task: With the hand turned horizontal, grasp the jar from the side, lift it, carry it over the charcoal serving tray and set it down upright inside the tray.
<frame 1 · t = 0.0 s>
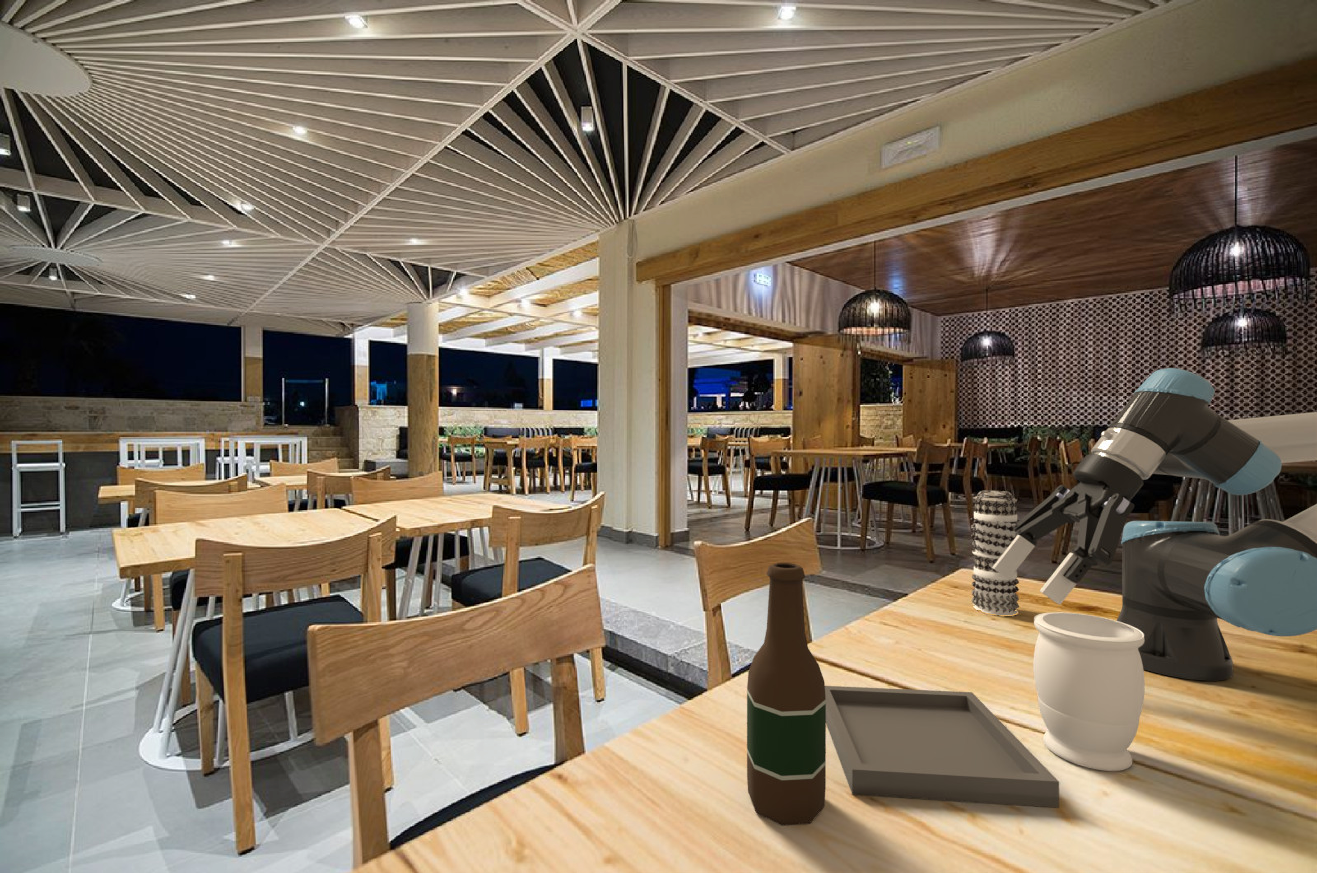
hand: (1022, 585, 84), 15 cm above the table, tool tilted 35°, fingers open, 13 cm apart
jar: (1086, 754, 68), on the table
decorative candle: (995, 611, 122), on the table
tray: (919, 747, 69), on the table
beer bottle: (785, 804, 59), on the table
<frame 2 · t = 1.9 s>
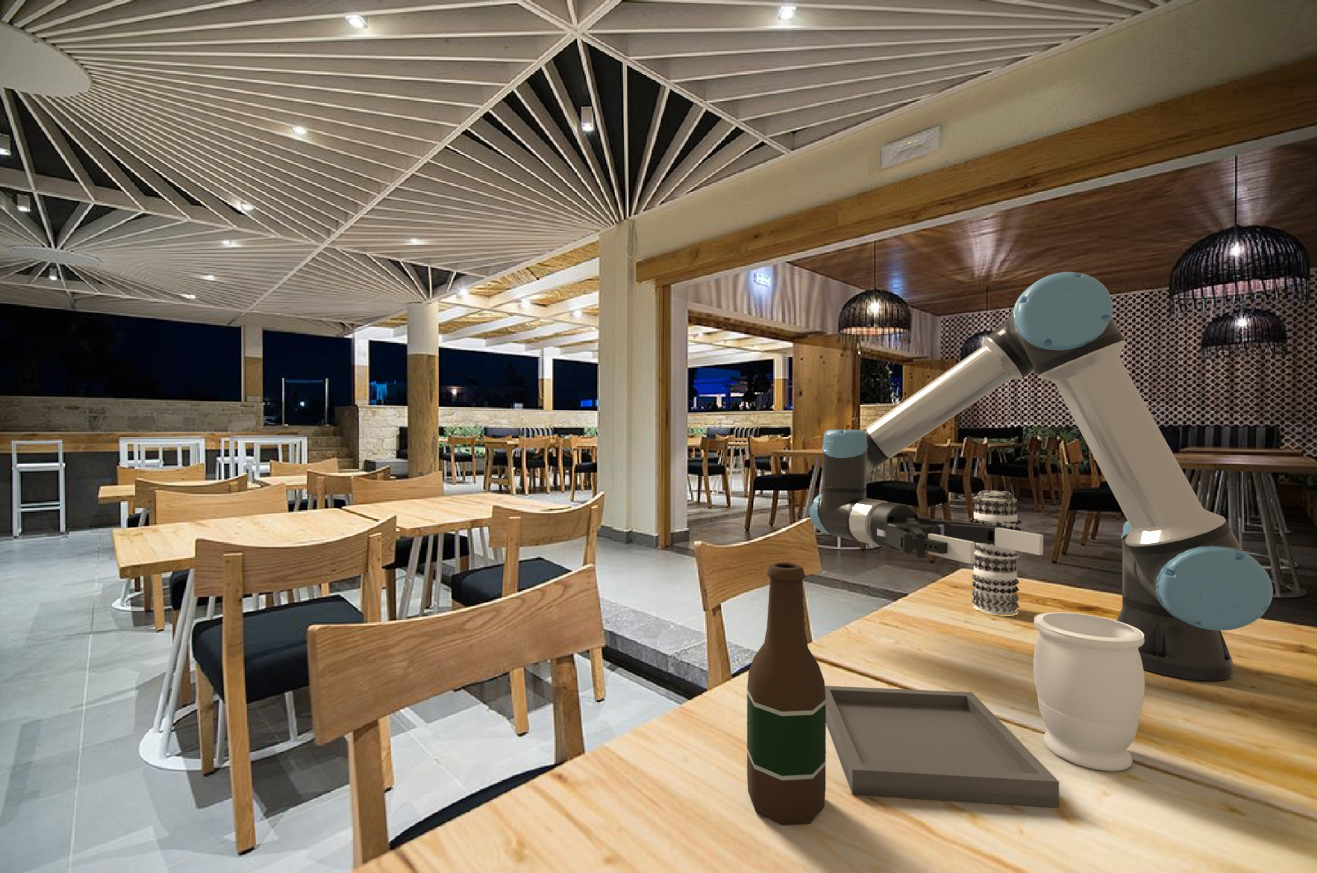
hand: (1008, 548, 77), 22 cm above the table, tool horizontal, fingers open, 13 cm apart
nothing on the table moved.
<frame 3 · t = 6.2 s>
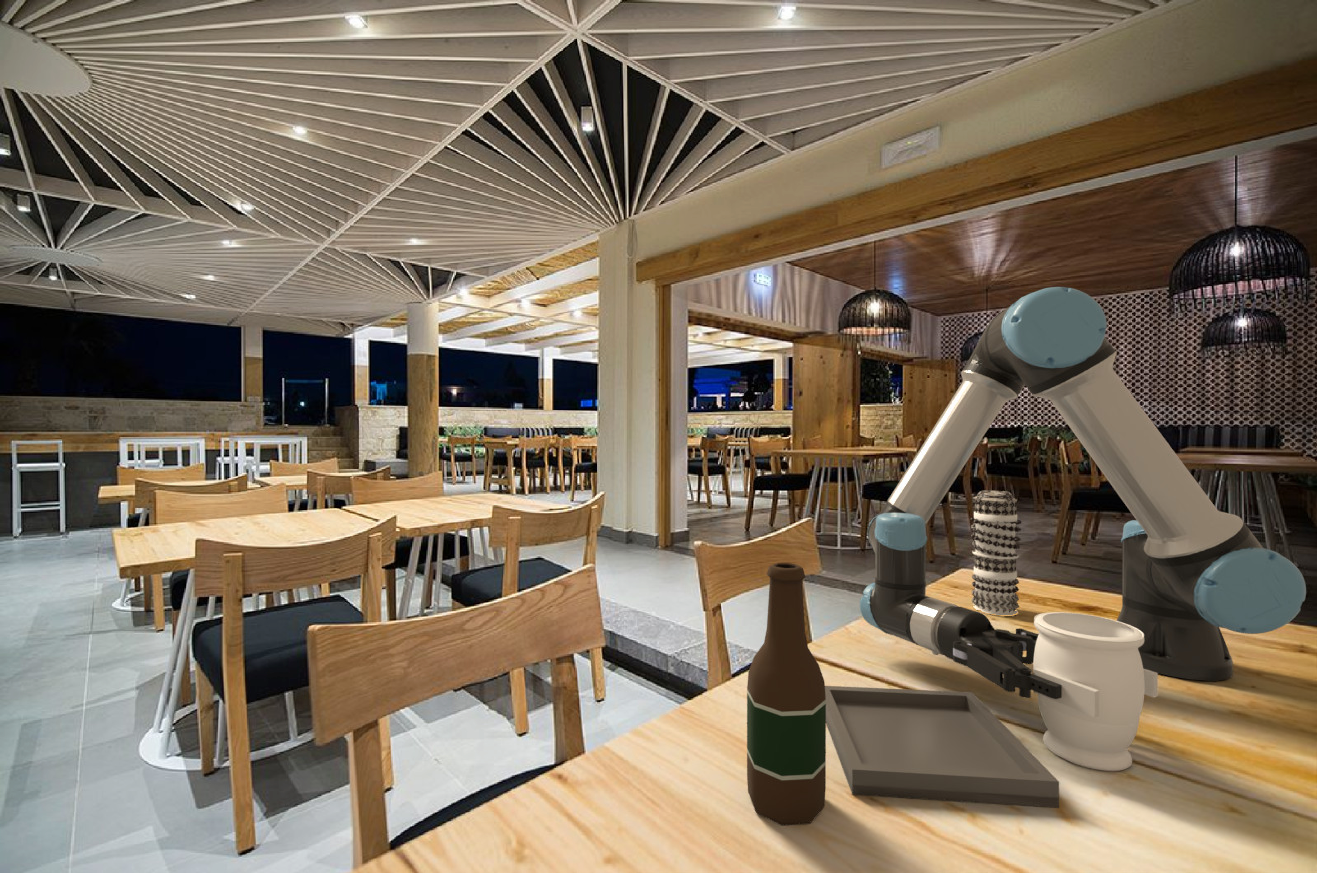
hand: (1127, 694, 64), 9 cm above the table, tool horizontal, fingers closed on jar, 10 cm apart
jar: (1086, 754, 68), on the table, touching gripper
everything else where it was.
when the fingers open (11 cm above the table, at t = 11.4 s): jar drops 1 cm, resting on tray.
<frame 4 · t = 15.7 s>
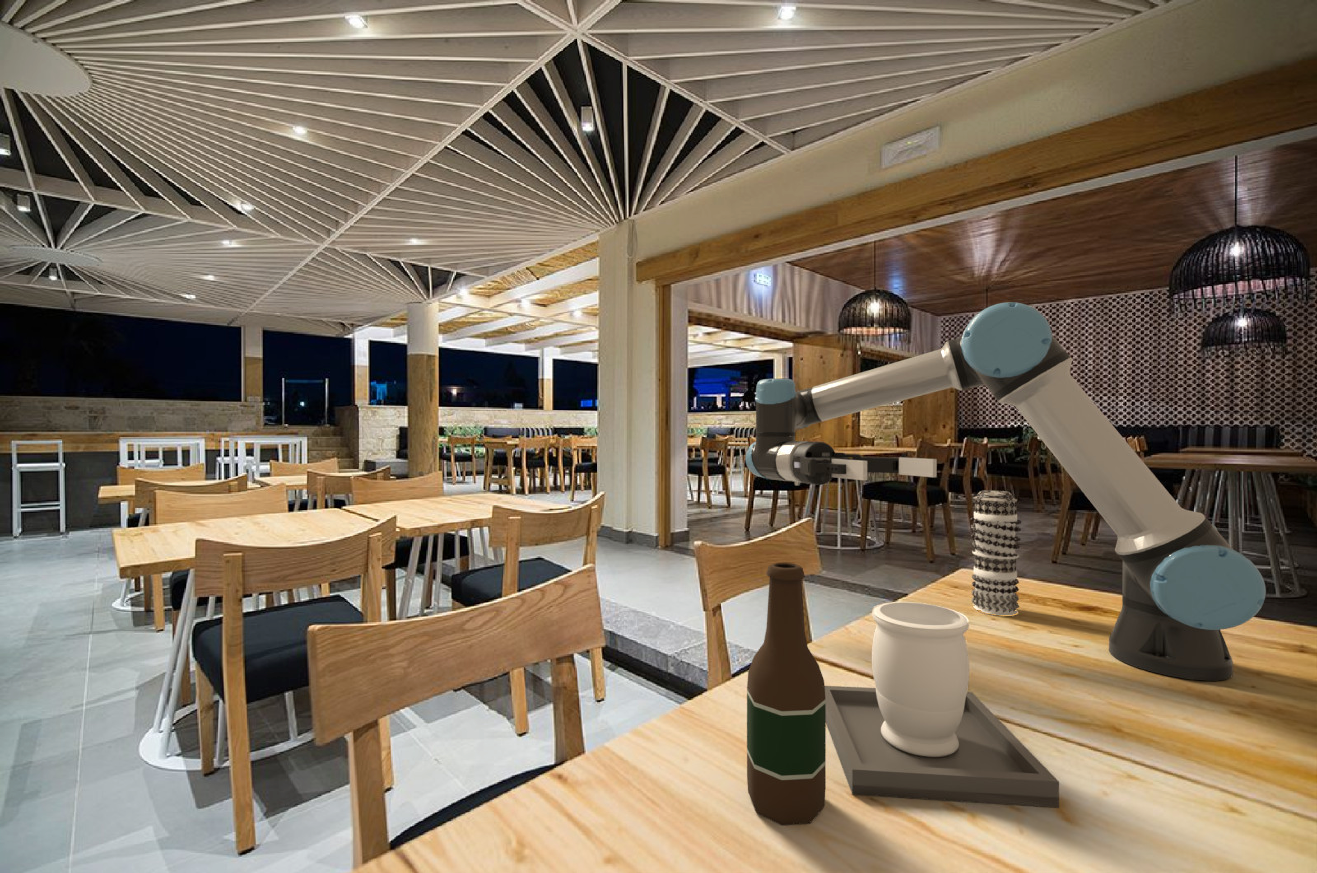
hand: (901, 469, 84), 32 cm above the table, tool horizontal, fingers open, 13 cm apart
jar: (918, 741, 69), point 1 cm above the table, touching tray
everything else where it was.
at the end: jar inside the target area on the tray (0.1 cm from its centre), point 0.8 cm above the tray's base; jar tilted 0°; the gripper is holding nothing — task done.
